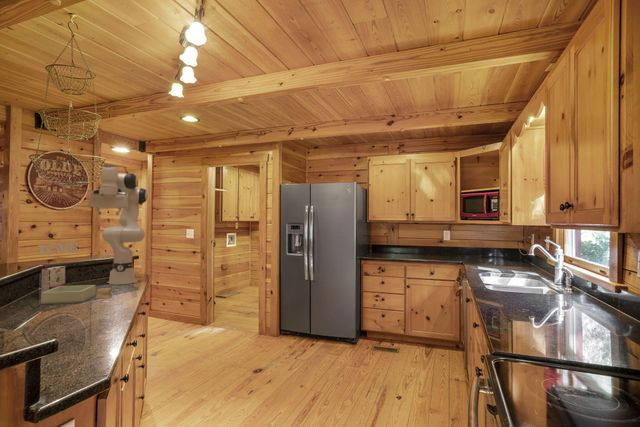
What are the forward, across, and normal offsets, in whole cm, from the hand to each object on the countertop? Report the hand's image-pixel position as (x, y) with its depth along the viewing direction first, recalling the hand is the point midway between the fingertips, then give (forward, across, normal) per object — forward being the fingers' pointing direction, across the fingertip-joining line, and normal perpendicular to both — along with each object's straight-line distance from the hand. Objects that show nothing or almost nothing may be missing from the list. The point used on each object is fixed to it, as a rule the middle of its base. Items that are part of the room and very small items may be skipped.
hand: (108, 215), depth 198 cm
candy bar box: (+47, +25, +4) cm, 53 cm away
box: (+46, +14, +15) cm, 51 cm away
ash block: (+47, -2, +15) cm, 49 cm away
